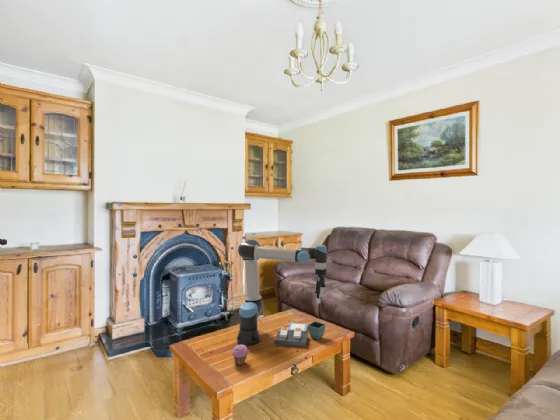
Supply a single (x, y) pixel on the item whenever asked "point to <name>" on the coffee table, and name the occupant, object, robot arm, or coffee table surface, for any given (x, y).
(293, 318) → the coffee table surface
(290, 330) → the pad
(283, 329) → the block
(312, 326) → the flower pot
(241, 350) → the cupcake
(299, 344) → the breaker panel
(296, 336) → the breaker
